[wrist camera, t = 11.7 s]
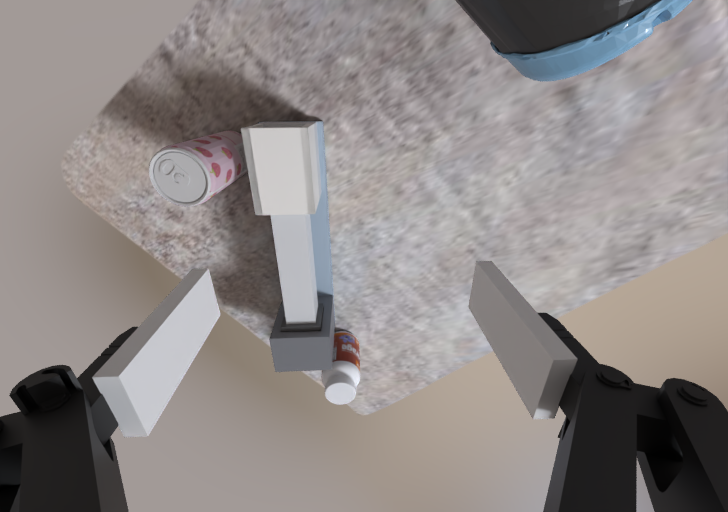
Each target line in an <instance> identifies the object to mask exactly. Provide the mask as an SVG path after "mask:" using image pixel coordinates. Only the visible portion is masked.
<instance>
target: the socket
mask: <svg viewBox="0 0 728 512" xmlns="http://www.w3.org/2000/svg"><path fill="white" fill-rule="evenodd" d="M317 299H318V303H323V315H322V323H321V330H320V331H305V332H288V331H285V332H281V328H280V327H281V324H282V321H283V317H284V314H285V310H284V304H283V300H282V303H281V306H280V309H279V312H278V315H277V318H276V321H275V324H274V327H273V330H272V333H271V336H270V345H271V350H272V356H273V361H274V366H275V371H276V372H283V371H310V370H332V362H333V346H334V330H335V319H334V303H333V295H326V296H317Z"/></svg>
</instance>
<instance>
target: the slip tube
mask: <svg viewBox="0 0 728 512" xmlns="http://www.w3.org/2000/svg"><path fill="white" fill-rule="evenodd" d="M271 222H272V229H273V236H274V242H275V249H276V256H277V263H278V270H279V276H280V283H281V290H282V297H283V304H284V310H285V314H284V317H283V321H282V324H281V327H280V328H281V332H285V331H288V332H305V331H320V330H321V323H322V315H323V303H318V299H317V287H316V276H315V265H314V253H313V242H312V231H311V219H310V214H300V215H271Z"/></svg>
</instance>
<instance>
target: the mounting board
mask: <svg viewBox="0 0 728 512" xmlns="http://www.w3.org/2000/svg"><path fill="white" fill-rule="evenodd" d="M288 122H317V132H318V147H319V161H320V176H321V190H322V193H321V196H320V199H319V203H318V206H317V210H316V213H315V214H310V219H311V231H312V242H313V253H314V265H315V276H316V287H317V296H326V295H333V278H332V262H331V245H330V229H329V212H328V196H327V179H326V163H325V146H324V130H323V121H288ZM259 123H263V122H258V124H259ZM333 303H334V295H333ZM334 319H335V311H334Z"/></svg>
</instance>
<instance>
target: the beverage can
mask: <svg viewBox="0 0 728 512" xmlns="http://www.w3.org/2000/svg"><path fill="white" fill-rule="evenodd" d="M247 172H248V168H247V162H246V156H245V150H244V144H243V138H242V134H240V133H238V132H235V131H223V132H219V133H215V134H211V135H207V136H204V137H200V138H196V139H192V140H188V141H185V142H181V143H177V144H173V145H170V146H166V147H164V148H162V149H161V150H160V151H158V152H157V153H156V154H155V155H154V156H153V158H152V159H151V161H150V165H149V175H150V180H151V182H152V184H153V186H154V188H155V189H156V191H157V192H158V193H159V194H160V195H161V196H162V197H163V198H165V199H166V200H168V201H169V202H171V203H173V204H176V205H179V206H184V207H186V206H195V205H199V204H202V203H204V202H206V201H207V200H209V199H210V198H211V197H213V196H214V195H216V194H217V193H219V192H220V191H221V190H223V189H224V188H226V187H227V186H229V185H230V184H231V183H233V182H234V181H236V180H237V179H238V178H240V177H241V176H243V175H244V174H246V173H247Z"/></svg>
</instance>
